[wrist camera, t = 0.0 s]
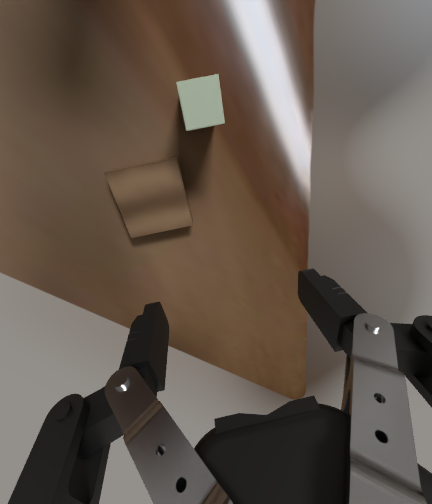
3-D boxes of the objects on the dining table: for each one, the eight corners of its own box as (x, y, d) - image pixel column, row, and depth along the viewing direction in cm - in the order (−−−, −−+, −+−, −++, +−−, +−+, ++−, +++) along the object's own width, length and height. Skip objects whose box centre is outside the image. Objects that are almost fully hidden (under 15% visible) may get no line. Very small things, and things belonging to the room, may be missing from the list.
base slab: (110, 170, 35) (104, 173, 32) (177, 156, 35) (176, 158, 32) (134, 231, 40) (131, 238, 38) (192, 219, 40) (192, 225, 38)
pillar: (178, 96, 31) (176, 82, 23) (209, 90, 31) (218, 74, 23) (186, 131, 33) (186, 130, 25) (214, 125, 34) (224, 123, 25)
